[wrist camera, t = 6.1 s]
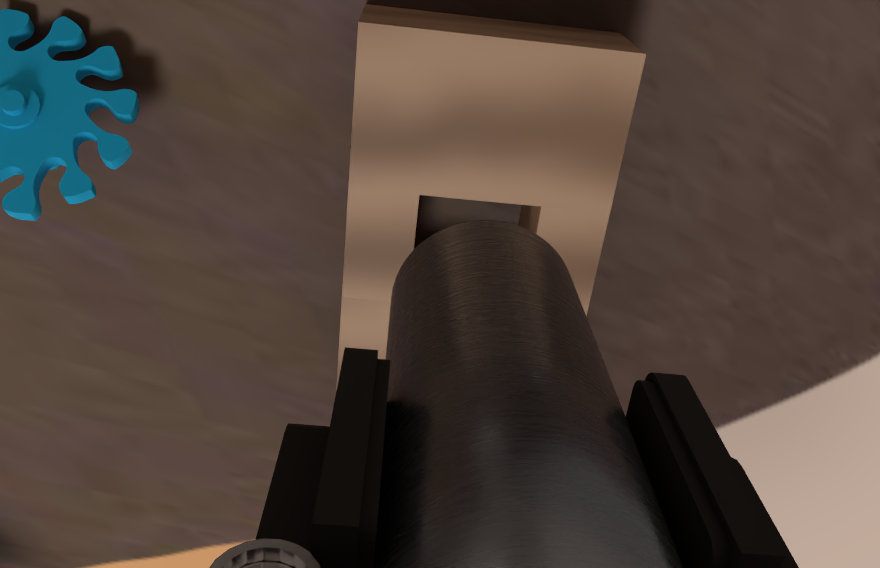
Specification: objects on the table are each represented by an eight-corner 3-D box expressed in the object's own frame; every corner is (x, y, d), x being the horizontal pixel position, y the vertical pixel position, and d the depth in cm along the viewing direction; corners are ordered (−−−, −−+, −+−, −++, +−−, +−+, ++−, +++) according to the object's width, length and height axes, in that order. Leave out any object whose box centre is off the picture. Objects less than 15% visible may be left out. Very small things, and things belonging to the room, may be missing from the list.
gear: (174, 56, 35) (63, 246, 32) (189, 119, 41) (96, 286, 37) (-60, -44, 34) (-199, 139, 31) (-13, 34, 40) (-126, 197, 37)
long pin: (398, 211, 16) (290, 1366, 3) (590, 229, 16) (1163, 1367, 4) (384, 375, 18) (277, 1541, 5) (557, 389, 18) (866, 1535, 5)
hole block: (365, 4, 36) (358, 21, 32) (619, 32, 37) (646, 53, 32) (343, 364, 45) (334, 417, 41) (545, 380, 46) (559, 433, 42)
